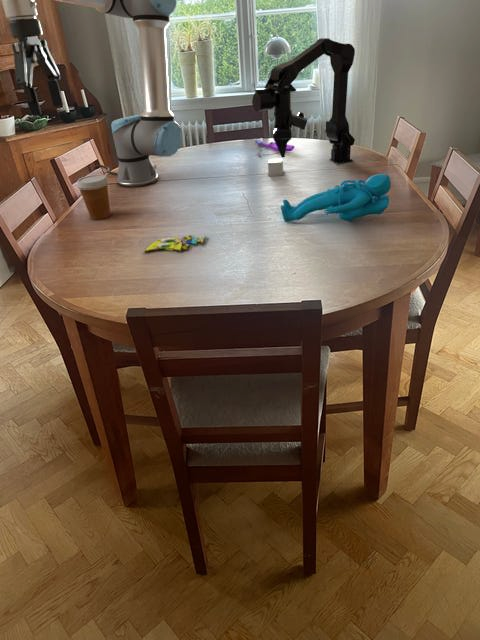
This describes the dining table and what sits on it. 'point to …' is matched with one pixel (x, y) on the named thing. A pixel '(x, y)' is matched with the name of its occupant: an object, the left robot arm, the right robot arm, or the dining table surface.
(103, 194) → the disposable coffee cup
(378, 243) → the dining table surface
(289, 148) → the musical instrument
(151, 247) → the toy
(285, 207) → the toy
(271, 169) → the block
